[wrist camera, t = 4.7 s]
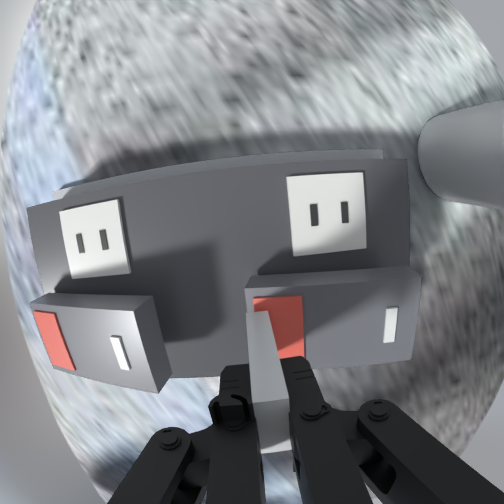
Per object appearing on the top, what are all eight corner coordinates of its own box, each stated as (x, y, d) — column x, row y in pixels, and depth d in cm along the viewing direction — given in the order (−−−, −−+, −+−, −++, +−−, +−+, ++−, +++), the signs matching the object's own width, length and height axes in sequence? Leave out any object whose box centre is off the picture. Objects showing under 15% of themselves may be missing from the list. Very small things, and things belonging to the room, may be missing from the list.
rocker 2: (402, 342, 16) (411, 361, 14) (259, 351, 18) (254, 371, 15) (409, 265, 15) (422, 277, 13) (251, 275, 16) (243, 289, 14)
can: (417, 103, 19) (518, 68, 8) (475, 135, 20) (571, 128, 8) (405, 186, 21) (518, 198, 9) (465, 210, 21) (566, 234, 10)
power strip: (379, 328, 24) (407, 359, 18) (95, 353, 23) (70, 385, 18) (378, 150, 20) (414, 142, 15) (57, 191, 20) (17, 195, 15)
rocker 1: (172, 373, 16) (157, 395, 14) (69, 355, 18) (52, 369, 16) (152, 295, 15) (131, 312, 13) (48, 292, 16) (27, 303, 14)
